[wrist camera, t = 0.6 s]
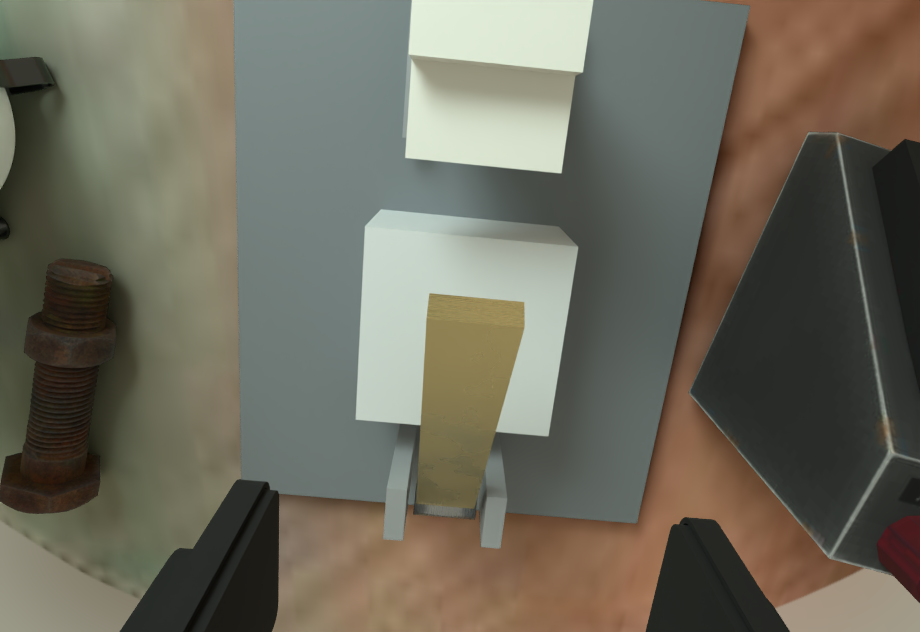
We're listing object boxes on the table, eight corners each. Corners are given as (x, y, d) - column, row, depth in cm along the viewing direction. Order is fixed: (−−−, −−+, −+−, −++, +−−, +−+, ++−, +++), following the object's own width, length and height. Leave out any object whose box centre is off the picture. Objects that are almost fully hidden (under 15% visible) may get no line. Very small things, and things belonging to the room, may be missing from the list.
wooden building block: (437, 236, 28) (424, 300, 18) (505, 243, 28) (530, 310, 18) (414, 502, 33) (394, 673, 22) (473, 507, 33) (479, 680, 23)
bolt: (129, 257, 38) (96, 461, 42) (31, 243, 35) (6, 464, 39) (134, 288, 33) (97, 515, 37) (22, 275, 30) (-6, 522, 34)
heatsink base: (243, -42, 31) (153, -111, 22) (737, 11, 32) (847, -35, 23) (249, 477, 40) (188, 579, 31) (630, 509, 41) (678, 618, 32)
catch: (431, 15, 30) (414, -46, 20) (549, 27, 30) (597, -26, 20) (421, 148, 32) (401, 159, 22) (531, 159, 32) (567, 176, 22)
